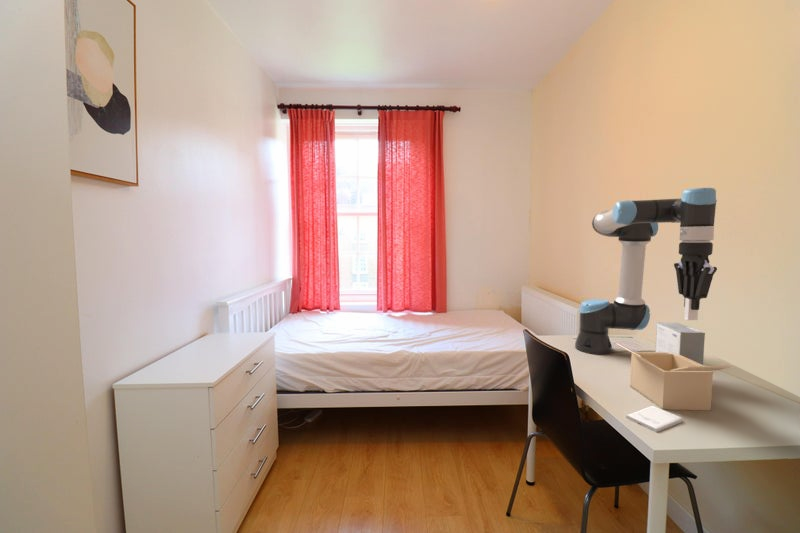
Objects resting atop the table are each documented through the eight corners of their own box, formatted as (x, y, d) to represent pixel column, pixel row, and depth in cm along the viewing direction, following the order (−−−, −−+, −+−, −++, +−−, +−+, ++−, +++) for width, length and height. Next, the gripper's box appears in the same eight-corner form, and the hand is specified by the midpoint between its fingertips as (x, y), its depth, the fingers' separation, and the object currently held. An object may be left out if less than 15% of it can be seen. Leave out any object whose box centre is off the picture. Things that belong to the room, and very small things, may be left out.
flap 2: (688, 366, 94) (688, 367, 94) (730, 366, 94) (730, 367, 94) (670, 369, 101) (670, 370, 101) (709, 370, 100) (710, 371, 100)
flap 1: (632, 352, 116) (632, 353, 116) (616, 342, 116) (615, 343, 116) (659, 367, 103) (658, 368, 103) (641, 356, 103) (640, 356, 103)
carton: (629, 385, 119) (630, 352, 118) (672, 386, 118) (674, 352, 117) (662, 409, 103) (664, 370, 102) (713, 410, 102) (715, 370, 101)
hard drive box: (702, 390, 115) (706, 333, 113) (677, 388, 117) (680, 332, 115) (675, 372, 130) (678, 322, 129) (653, 371, 132) (655, 321, 130)
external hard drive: (682, 423, 96) (656, 434, 91) (651, 410, 104) (625, 419, 99) (682, 418, 96) (656, 428, 91) (651, 405, 104) (625, 414, 99)
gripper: (666, 241, 106) (662, 314, 108) (700, 242, 93) (695, 325, 95) (691, 240, 105) (686, 314, 108) (729, 241, 92) (723, 325, 95)
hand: (690, 319), depth 101 cm, fingers closed
